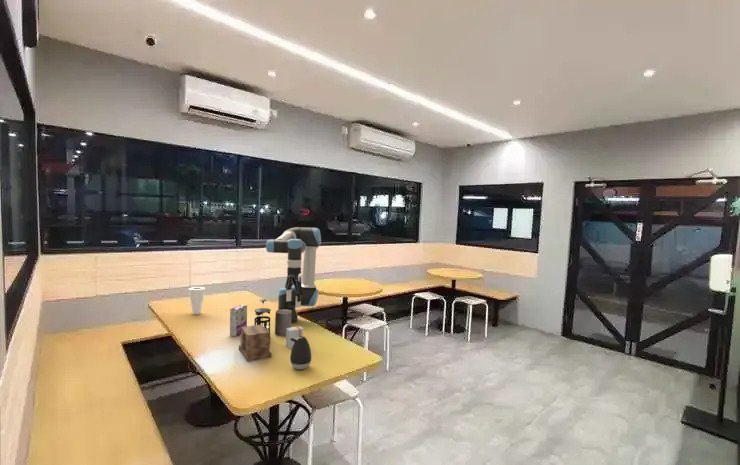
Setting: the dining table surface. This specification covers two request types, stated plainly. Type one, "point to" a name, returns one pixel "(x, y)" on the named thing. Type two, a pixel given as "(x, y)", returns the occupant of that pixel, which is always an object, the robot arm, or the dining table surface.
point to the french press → (258, 318)
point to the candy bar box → (238, 319)
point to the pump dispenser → (300, 353)
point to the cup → (196, 298)
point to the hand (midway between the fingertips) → (293, 304)
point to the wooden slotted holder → (255, 342)
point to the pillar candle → (282, 321)
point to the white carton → (293, 335)
